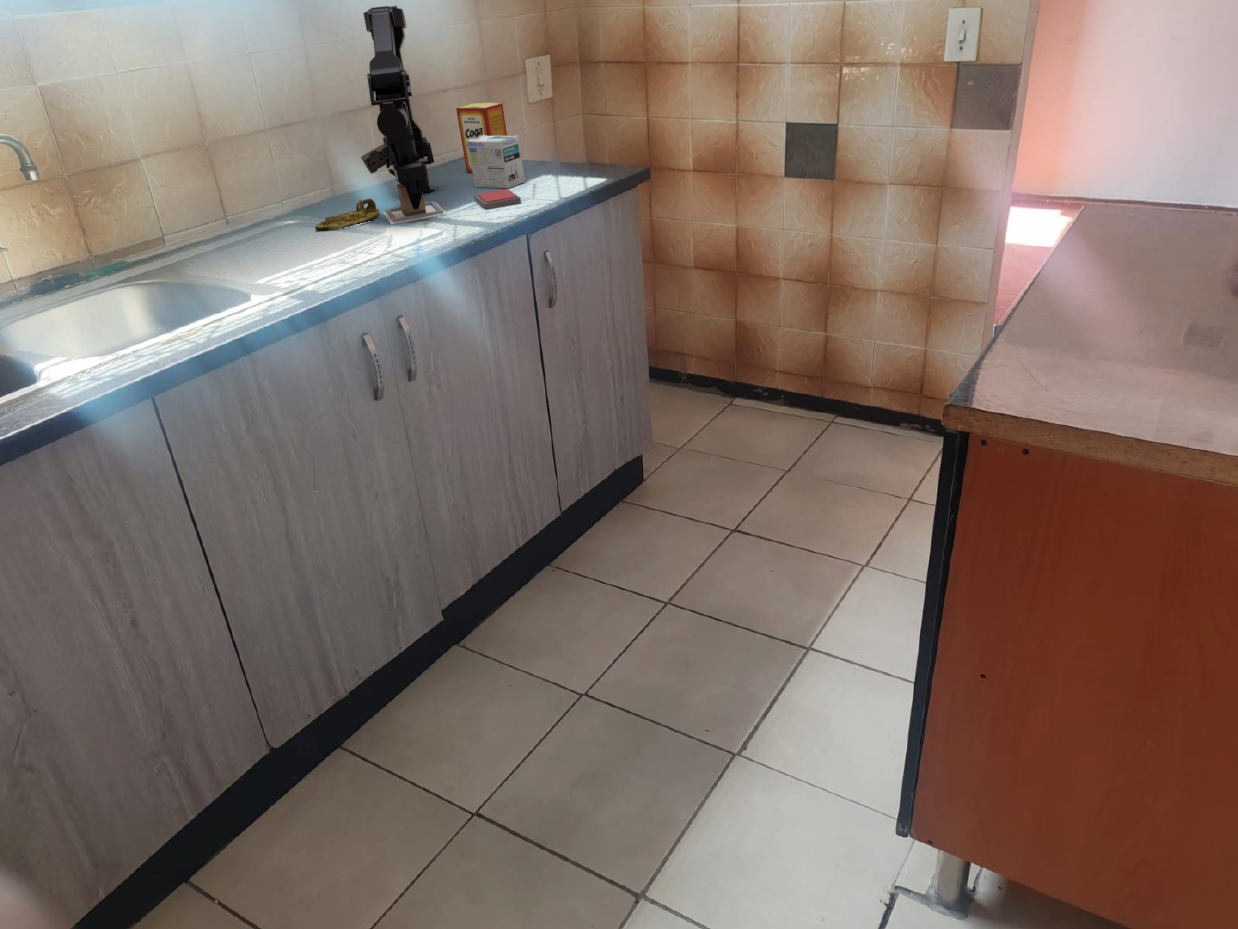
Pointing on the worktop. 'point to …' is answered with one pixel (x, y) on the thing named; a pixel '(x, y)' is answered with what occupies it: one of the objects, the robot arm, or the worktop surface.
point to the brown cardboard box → (406, 203)
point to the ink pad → (497, 199)
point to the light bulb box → (496, 161)
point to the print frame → (398, 217)
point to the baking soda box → (479, 124)
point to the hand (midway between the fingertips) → (412, 205)
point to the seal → (351, 217)
